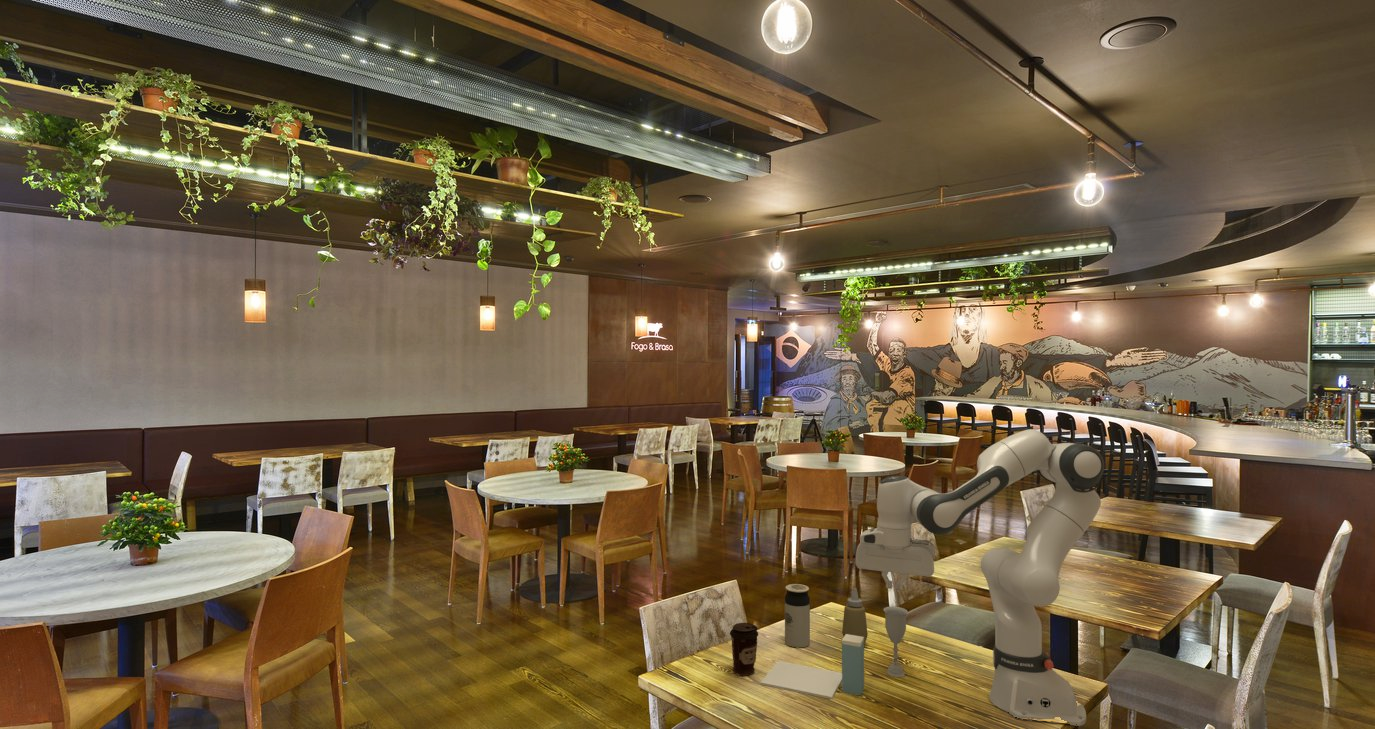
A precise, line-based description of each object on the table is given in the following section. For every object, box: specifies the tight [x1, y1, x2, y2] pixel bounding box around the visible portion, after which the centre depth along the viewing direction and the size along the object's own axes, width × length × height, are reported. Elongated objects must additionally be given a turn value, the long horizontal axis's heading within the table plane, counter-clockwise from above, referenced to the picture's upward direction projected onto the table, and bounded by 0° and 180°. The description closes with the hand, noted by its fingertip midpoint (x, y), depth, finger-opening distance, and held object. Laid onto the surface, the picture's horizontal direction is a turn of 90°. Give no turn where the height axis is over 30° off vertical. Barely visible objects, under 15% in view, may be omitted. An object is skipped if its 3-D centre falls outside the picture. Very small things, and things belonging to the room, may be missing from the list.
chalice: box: [883, 606, 909, 678], centre depth 197 cm, size 7×7×18 cm
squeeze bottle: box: [841, 587, 869, 646], centre depth 218 cm, size 8×8×18 cm
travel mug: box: [784, 583, 811, 649], centre depth 219 cm, size 8×8×18 cm
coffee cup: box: [729, 622, 759, 676], centre depth 198 cm, size 9×8×13 cm
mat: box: [760, 660, 842, 700], centre depth 192 cm, size 20×16×1 cm
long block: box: [841, 634, 865, 696], centre depth 186 cm, size 5×5×14 cm
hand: (894, 588), depth 182 cm, fingers closed
